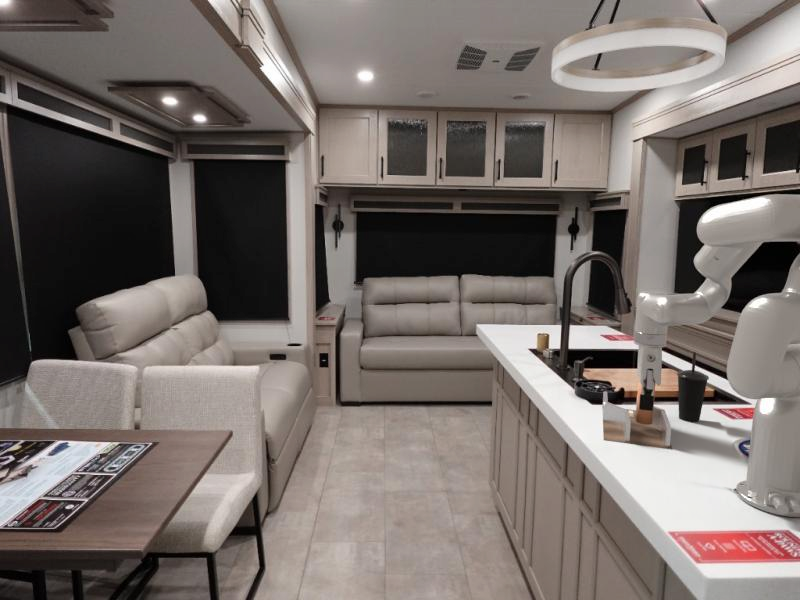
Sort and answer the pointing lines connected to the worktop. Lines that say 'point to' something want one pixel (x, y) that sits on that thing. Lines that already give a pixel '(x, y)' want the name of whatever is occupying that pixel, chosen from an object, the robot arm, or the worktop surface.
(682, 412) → the drinking cup
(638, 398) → the peg
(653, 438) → the channel board
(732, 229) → the robot arm
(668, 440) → the bent rails
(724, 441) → the worktop surface
